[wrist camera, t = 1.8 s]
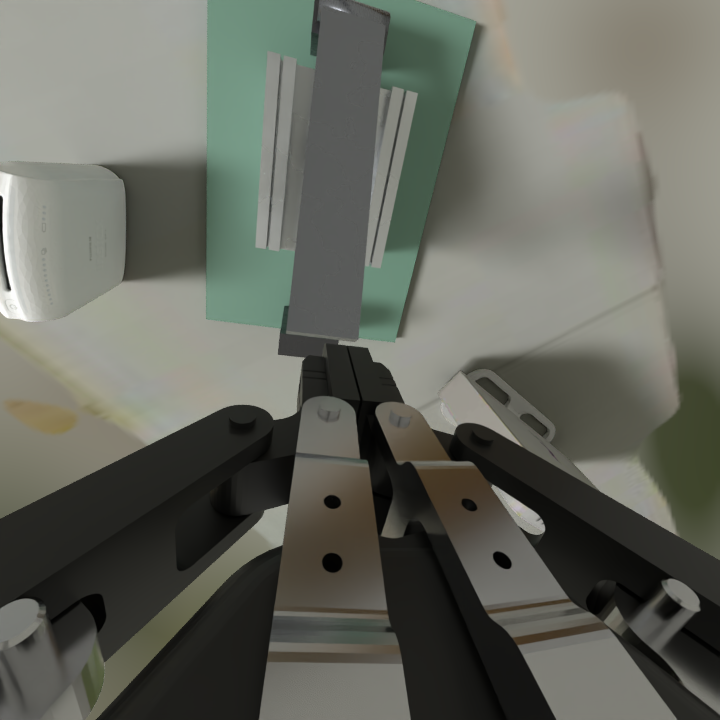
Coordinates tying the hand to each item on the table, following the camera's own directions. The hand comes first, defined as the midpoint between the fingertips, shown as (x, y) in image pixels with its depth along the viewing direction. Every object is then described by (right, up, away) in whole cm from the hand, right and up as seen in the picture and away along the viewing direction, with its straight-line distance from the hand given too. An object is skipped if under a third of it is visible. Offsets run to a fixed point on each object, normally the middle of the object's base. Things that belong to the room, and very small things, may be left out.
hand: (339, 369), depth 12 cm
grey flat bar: (-1, +12, +9) cm, 15 cm away
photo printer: (-22, +12, +19) cm, 32 cm away
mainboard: (-3, +16, +20) cm, 26 cm away
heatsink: (-3, +15, +20) cm, 25 cm away
